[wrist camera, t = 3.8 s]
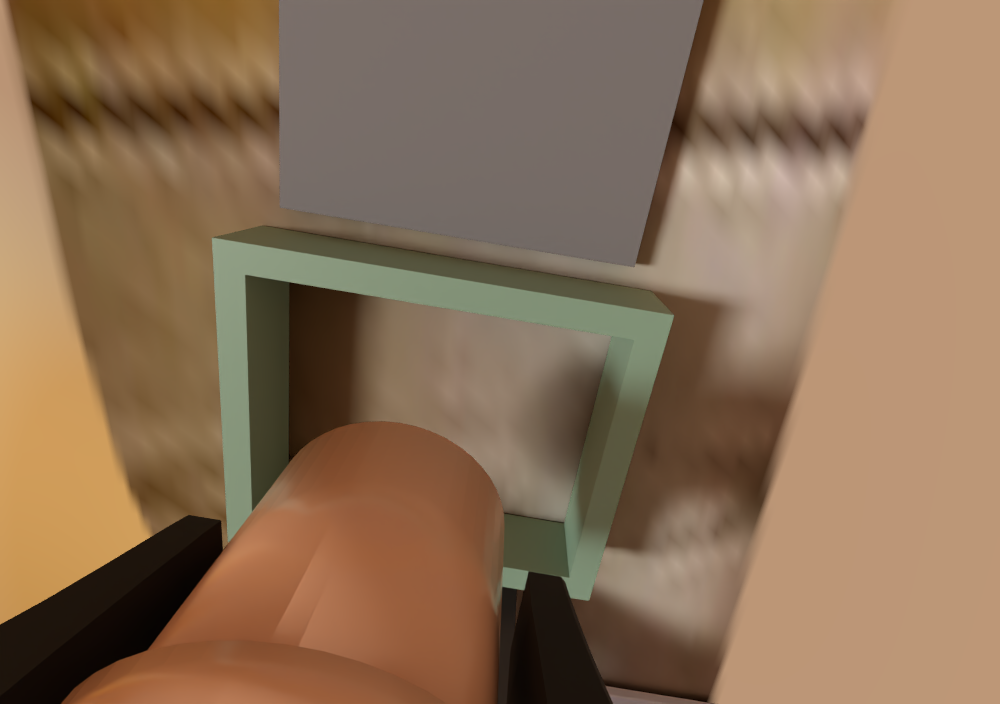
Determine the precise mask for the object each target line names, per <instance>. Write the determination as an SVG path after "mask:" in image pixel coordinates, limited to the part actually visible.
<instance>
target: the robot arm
mask: <svg viewBox="0 0 1000 704" xmlns="http://www.w3.org/2000/svg"><path fill="white" fill-rule="evenodd" d="M222 551H223V547H222V529H221V520H215V519H209V518H203V517H197V516H191V515H188V516H186V517H184V518H183V519H181V520H179V521H177V522H175V523H174V524H172V525H170V526H169V527H167V528H165V529H164V530H162V531H160V532H159V533H157V534H155V535H154V536H152V537H150V538H149V539H147V540H145V541H144V542H142V543H140V544H139V545H137V546H136V547H134V548H132V549H130V550H129V551H127V552H125V553H124V554H122V555H120V556H119V557H117V558H115V559H114V560H112V561H110V562H109V563H107V564H105V565H104V566H102V567H100V568H99V569H97V570H95V571H94V572H92V573H90V574H88V575H87V576H85V577H83V578H82V579H80V580H78V581H77V582H75V583H73V584H72V585H70V586H68V587H66V588H65V589H63V590H61V591H60V592H58V593H56V594H55V595H53V596H51V597H49V598H48V599H46V600H44V601H42V602H41V603H39V604H37V605H35V606H33V607H31V608H30V609H28V610H26V611H24V612H22V613H21V614H19V615H17V616H15V617H13V618H12V619H10V620H8V621H6V622H4V623H2V624H1V625H0V704H61V702H62V701H63V700H64V699H65V698H66V697H67V696H68V695H69V693H70V692H71V691H72V690H73V689H74V688H75V687H76V686H78V685H79V684H80V683H82V682H83V681H84V680H86V679H87V678H88V677H90V676H91V675H92V674H94V673H95V672H97V671H99V670H101V669H103V668H105V667H107V666H109V665H111V664H113V663H115V662H116V661H119V660H122V659H124V658H127V657H130V656H133V655H136V654H139V653H142V652H144V651H147V650H148V649H149V647H150V646H151V645H152V643H153V642H154V641H155V639H156V638H157V637H158V636H159V634H160V633H161V632H162V630H163V629H164V628H165V626H166V625H167V624H168V622H169V621H170V620H171V618H172V617H173V616H174V614H175V613H176V612H177V610H178V609H179V608H180V606H181V605H182V604H183V603H184V601H185V600H186V599H187V597H188V596H189V595H190V593H191V592H192V591H193V589H194V588H195V587H196V585H197V584H198V583H199V581H200V580H201V579H202V577H203V576H204V575H205V573H206V572H207V571H208V570H209V568H210V567H211V566H212V564H213V563H214V562H215V560H216V559H217V558H218V556H219V555H220V554H221V552H222ZM506 704H714V703H707V702H701V701H695V700H689V699H683V698H677V697H671V696H664V695H658V694H652V693H646V692H640V691H634V690H627V689H621V688H615V687H609V686H605V684H604V682H603V680H602V677H601V675H600V673H599V671H598V668H597V666H596V664H595V661H594V659H593V656H592V654H591V652H590V649H589V647H588V644H587V641H586V639H585V636H584V634H583V631H582V629H581V626H580V623H579V621H578V618H577V615H576V613H575V610H574V607H573V604H572V601H571V598H570V595H569V592H568V589H567V586H566V582H565V581H564V580H563V578H562V577H560V576H554V575H548V574H542V573H536V572H530V571H529V572H528V576H527V580H526V584H525V589H524V593H523V597H522V602H521V606H520V610H519V615H518V619H517V623H516V628H515V632H514V636H513V640H512V645H511V649H510V661H509V674H508V688H507V703H506Z"/></svg>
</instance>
